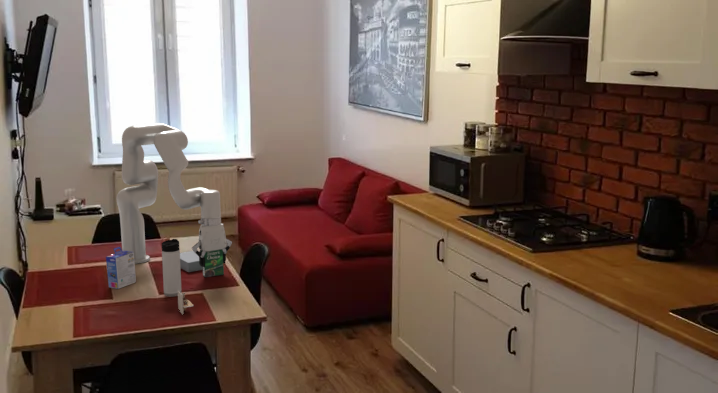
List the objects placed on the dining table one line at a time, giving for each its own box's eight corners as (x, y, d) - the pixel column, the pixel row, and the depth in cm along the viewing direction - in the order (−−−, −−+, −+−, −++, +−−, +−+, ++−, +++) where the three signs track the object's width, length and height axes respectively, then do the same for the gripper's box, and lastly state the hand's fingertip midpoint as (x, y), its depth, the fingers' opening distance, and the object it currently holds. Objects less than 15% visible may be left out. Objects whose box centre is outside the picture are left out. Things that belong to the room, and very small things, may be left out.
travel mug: (185, 292, 268) (183, 239, 264) (175, 297, 262) (172, 243, 258) (170, 290, 270) (168, 238, 266) (160, 295, 264) (157, 242, 260)
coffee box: (204, 277, 285) (202, 245, 283) (202, 275, 288) (200, 243, 286) (224, 275, 289) (223, 243, 287) (222, 273, 292) (221, 241, 289)
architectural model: (188, 309, 251) (187, 288, 250) (194, 315, 245) (193, 294, 244) (178, 311, 250) (177, 290, 248) (183, 317, 244) (182, 296, 242)
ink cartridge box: (125, 280, 282) (123, 244, 280) (136, 282, 280) (134, 245, 277) (107, 287, 273) (104, 250, 271) (118, 289, 271) (116, 251, 268)
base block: (188, 272, 293) (188, 262, 292) (172, 263, 305) (171, 254, 304) (213, 267, 299) (213, 258, 299) (196, 259, 312) (196, 250, 311)
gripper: (194, 226, 276) (196, 270, 280) (235, 220, 287) (237, 263, 290) (186, 222, 282) (188, 266, 285) (226, 217, 293) (228, 258, 296)
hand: (212, 264), depth 288 cm, fingers closed on coffee box, 8 cm apart
